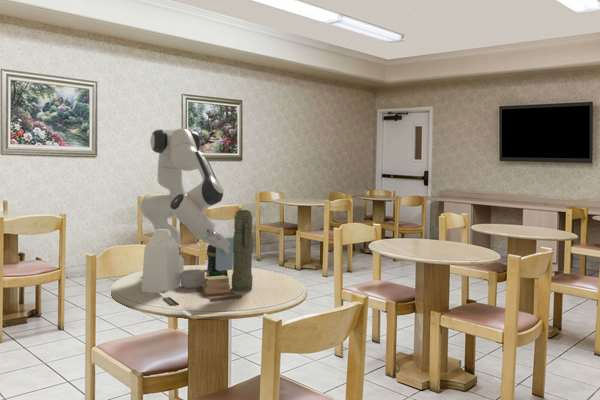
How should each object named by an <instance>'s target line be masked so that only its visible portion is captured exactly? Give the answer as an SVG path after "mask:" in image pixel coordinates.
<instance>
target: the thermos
mask: <svg viewBox="0 0 600 400" xmlns="http://www.w3.org/2000/svg"><path fill="white" fill-rule="evenodd" d="M233 223H234V225H233V226H234V228H233V229H234V232H233V238H234V239H233V270H232V273H231V274H232V275H231V290H233V291H237V292H238V291H239V292H248V291H251V290H252V288H253V274H252V263H253V262H252V260H253V258H252V257H253V251H254V237H253V230H252V229H253V216H252V213H251V211H250V210H246V209H238V210H237V211H235V215H234V222H233Z"/></svg>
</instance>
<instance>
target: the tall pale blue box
mask: <svg viewBox="0 0 600 400" xmlns="http://www.w3.org/2000/svg"><path fill="white" fill-rule="evenodd" d="M223 237H224V238H225V239H226V240H227V241H228V242H229V243H230V246H229V247H228V249H229V250H230V253H229V254H226V253H225V252H224V251H223V250H221V249H219V248H217V247H216V270H218V271H222V270H227V271H233V239H234V238H233V237H232V236H223ZM220 240H221V239H220Z"/></svg>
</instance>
